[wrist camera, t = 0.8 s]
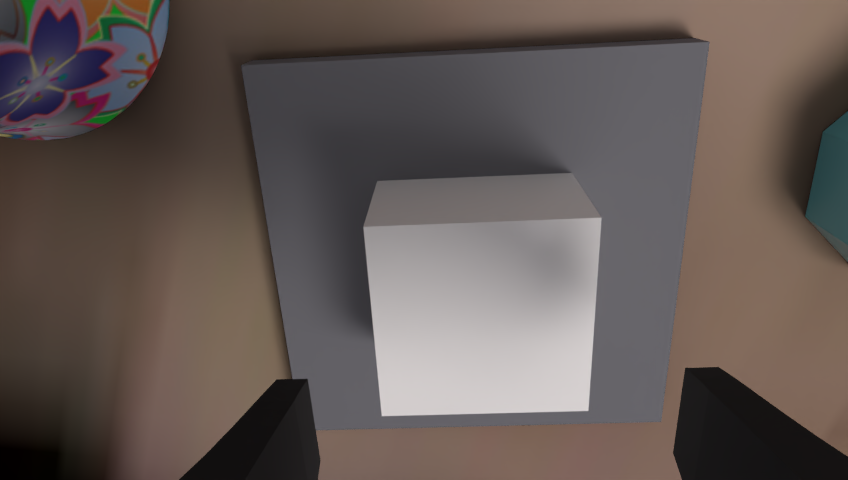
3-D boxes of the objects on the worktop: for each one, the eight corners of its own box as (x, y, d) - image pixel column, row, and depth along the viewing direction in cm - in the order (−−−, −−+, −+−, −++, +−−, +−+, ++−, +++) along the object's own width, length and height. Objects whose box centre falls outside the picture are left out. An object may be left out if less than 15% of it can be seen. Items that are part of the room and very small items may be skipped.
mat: (651, 402, 21) (660, 421, 20) (307, 411, 22) (301, 430, 21) (694, 38, 16) (709, 42, 16) (251, 60, 17) (241, 65, 16)
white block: (564, 339, 19) (588, 410, 16) (391, 344, 19) (381, 416, 16) (571, 173, 17) (601, 217, 14) (377, 180, 17) (363, 226, 14)
